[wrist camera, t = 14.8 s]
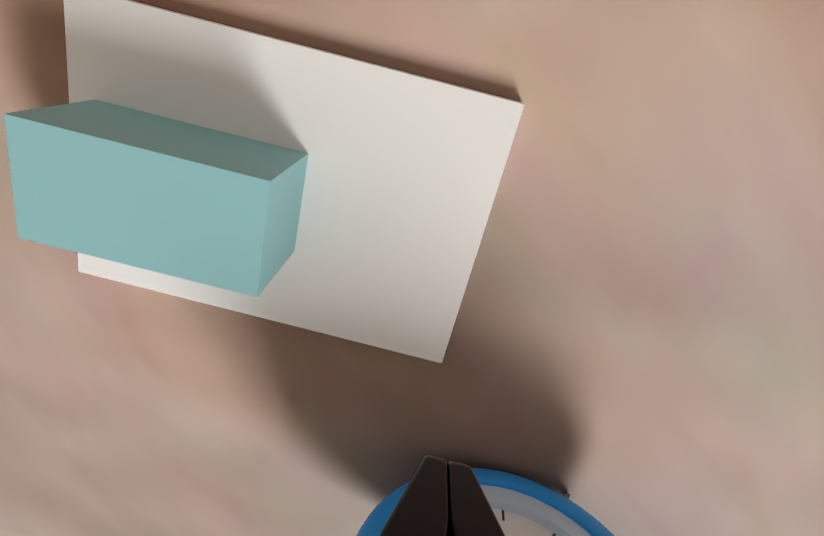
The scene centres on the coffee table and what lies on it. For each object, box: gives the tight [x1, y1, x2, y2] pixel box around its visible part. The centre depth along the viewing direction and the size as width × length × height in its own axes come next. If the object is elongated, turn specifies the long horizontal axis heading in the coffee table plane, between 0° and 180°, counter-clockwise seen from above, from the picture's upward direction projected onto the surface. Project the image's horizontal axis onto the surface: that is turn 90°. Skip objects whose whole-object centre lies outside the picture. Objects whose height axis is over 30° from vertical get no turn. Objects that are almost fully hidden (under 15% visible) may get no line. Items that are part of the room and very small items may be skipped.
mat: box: [64, 0, 525, 363], centre depth 19 cm, size 16×11×1 cm
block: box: [4, 99, 308, 297], centre depth 17 cm, size 4×4×8 cm
